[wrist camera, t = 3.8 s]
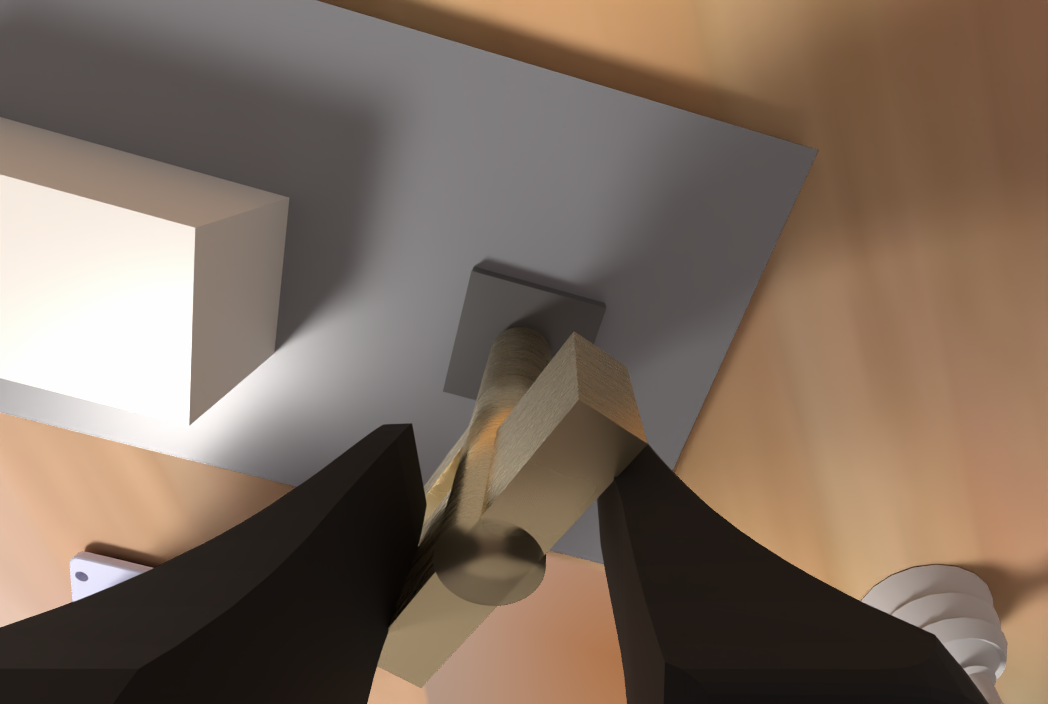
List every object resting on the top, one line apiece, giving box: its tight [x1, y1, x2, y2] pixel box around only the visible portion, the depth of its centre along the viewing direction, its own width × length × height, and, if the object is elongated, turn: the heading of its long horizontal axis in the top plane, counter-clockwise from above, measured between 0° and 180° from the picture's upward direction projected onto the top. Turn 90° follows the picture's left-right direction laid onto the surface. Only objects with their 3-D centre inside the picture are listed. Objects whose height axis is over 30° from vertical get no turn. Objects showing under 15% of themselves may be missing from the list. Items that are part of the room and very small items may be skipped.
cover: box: [0, 117, 289, 426], centre depth 15 cm, size 5×10×4 cm, turn 75°
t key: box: [377, 327, 648, 688], centre depth 14 cm, size 2×12×8 cm, turn 145°
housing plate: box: [0, 0, 818, 564], centre depth 17 cm, size 15×24×2 cm, turn 75°
